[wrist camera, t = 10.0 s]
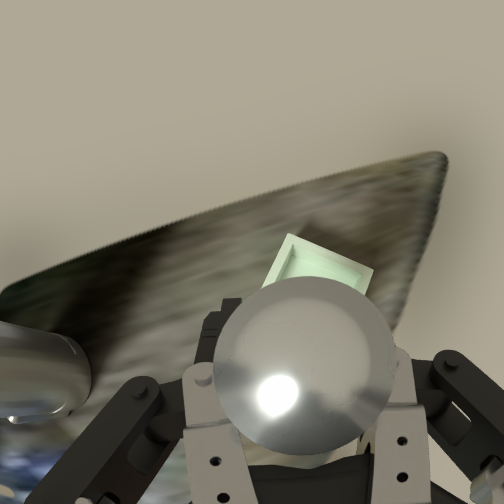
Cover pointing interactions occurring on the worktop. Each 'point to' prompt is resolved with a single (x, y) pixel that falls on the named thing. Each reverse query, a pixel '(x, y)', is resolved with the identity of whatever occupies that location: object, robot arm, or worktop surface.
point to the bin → (316, 265)
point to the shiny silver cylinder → (304, 365)
